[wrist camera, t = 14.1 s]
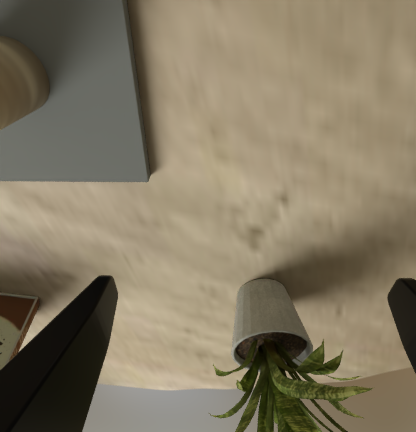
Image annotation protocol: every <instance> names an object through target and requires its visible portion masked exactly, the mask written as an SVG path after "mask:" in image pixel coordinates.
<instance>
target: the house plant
mask: <svg viewBox="0 0 416 432" xmlns="http://www.w3.org/2000/svg"><path fill="white" fill-rule="evenodd" d="M342 353H343V350H342V352H341V354H340V356H338V357H336V358H334V359H332V360H330V361H328V362H327V363H325V364H323V362H324V339H323V342H322V345H321V346H320V347H318V348H317V349H316V350H315V351H313V345H312V343H311V341H310V339H309V337H308V334H307V332H306V330H305V328H304V326H303V324H302V322H301V320H300V318H299V316H298V314H297V311H296V309H295V307H294V305H293V303H292V301H291V299H290V297H289V295H288V293H287V291H286V289H285V287H284V286H283V285H282V284H281V283H280V282H278V281H275V280H272V279H256V280H253V281H250V282H248V283H246V284H244V285H243V286H242V287H241V288H240V289H239V291H238V294H237V303H236V312H235V322H234V331H233V341H232V351H231V355H232V358H233V360H234V361H235V362H236V363H237V364H238V365H239V366H240V367H239V368H237V369H235V370H233V371H230V372H223V371H220V370H218V369H216V367H215V366H214V365H213V366H214V368H215V371H216V375H218V376H226V375H229V374H231V373H232V372H236V371H239V370H241V369H243V368H245V369H248V371H247V373H246V374H245V375H244V377H243V378H242V380H241V381H240V382H239V381H238V380H237V383H236V385H237V388H238V389H240V390H242V391H244V392H246V393H245V394H244V396H243V397H242V399H241V401H240V402H239V403H237V404H236V405H235V406H234V407H233V408H232V409H231V410H229V411H228V412H226V413H225V414H223V415H218V416H214V417H218V418H226V417H229V416H232V415H233V414H235V413H236V412H237V411H238V410H239V409H240V408H241V407H242V406H243V405H244V404H245V403H246V401H247V399H248V398H249V396H250V394H251V392H252V389H253V387H254V384H255V381H256V378H257V375H258V372H260V376H259V379H258V381H257V384H256V386H255V388H254V391H253V393H252V395H251V398H250V400H249V403H248V405H247V407H246V409H245V411H244V413H243V416H242V418H241V420H240V423H239V425H238V427H237V429H236V431H235V432H243V431H244V430H245V429H246V427H247V426H248V425H249V423H250V421H251V419H252V417H253V416H254V413H255V411H256V408H257V405H258V402H259V398H260V395H261V399H260V406H259V414H258V415H259V416H258V429H257V432H274V422H275V423H277V424H278V432H322V431H321V430H320V428H319V427H318V426H317V425H316V423H315V422H314V421H313V419H312V418H311V417H310V415H311V416H312V417H314V418H315V419H316V420H317V421H318V422H319V423H320V424H321V425H322V426H323V427H325V428H326V429H327V430H329V431H330V432H333V431H332V430H330V429H329V428H328V427H327V426H325V425H324V424H323V423H322V422H321V421H320V420H319V419H318V418H316V417H315V416H314V415H313V414H312V413H311V411H309V410H308V408H307V407H306V406H305V405H304V404H303V402H302V401H301V400H300V399H299V398H302V399H310V400H311V401H312V402H313V403H314V405H315V406H316V407H317V408H318V409H319V410H320V411H321V412H322V414H323V415H324V416H325V417H326V418H327V419H328V420H329V421H330V422H331V423H332V424H334V425H335V426H336V427H337V428H338V429H340V430H341V431H342V432H348V431H346V430H345V429H344V428H342V427H341V426H340V425H339V424H338V423H336V422H335V421H334V420H333V419H332V418H331V417H330V416H329V415H328V414H327V413H326V412H325V411H324V410H323V409H322V408H321V407H320V406H319V405H318V404H317V403H316V401H315V400H314V399H324V400H328V401H329V402H330V403H331V404H332V405H333V406H334V407H335V408H336V409H338V410H340V411H341V412H343V413H345V414H347V415H350V416H353V417H360V416H357V415H355V414H353V413H351V412H350V411H348V410H347V409H345V408H344V407H343V406H342V405H341V404H340V403H339V402H337V401H343V400H345V399H347V398H348V397H350V396H353V395H356V394H360V393H363V392H367V391H369V390H371V389H372V388H371V389H370V388H363V387H358V386H351V387H332V386H328V385H324V384H319V383H317V382H315V381H314V380H313V379H312V378H311V377H309V376H308V375H307V374H306V373H311V374H315V375H325V374H330V373H333V372H334V371H336V370H337V368H338V367H339V365H340V362H341V358H342ZM299 365H300V366H299ZM293 368H294V369H295V370H294V369H293ZM285 370H286V371H288V373H289V374H290V376H291V377H292V378H293V379H289V378H287V376H286V373H285ZM296 371H297V372H298V373H299V374H300V375H301V376H302V377H303V378H304V379H305V380H307V381H302V380H301V379H300V377H299V376H298V374H297V373H296ZM293 374H294V375H293ZM326 376H327V375H326ZM295 377H296V378H297V379H298V380H297V379H296V378H295ZM328 377H330V376H328ZM358 377H361V376H358ZM358 377H352V378H334V377H331V378H333V379H336V380H352V379H356V378H358ZM307 412H308V413H309V414H310V415H309V414H308V413H307ZM360 418H363V417H360Z"/></svg>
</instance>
